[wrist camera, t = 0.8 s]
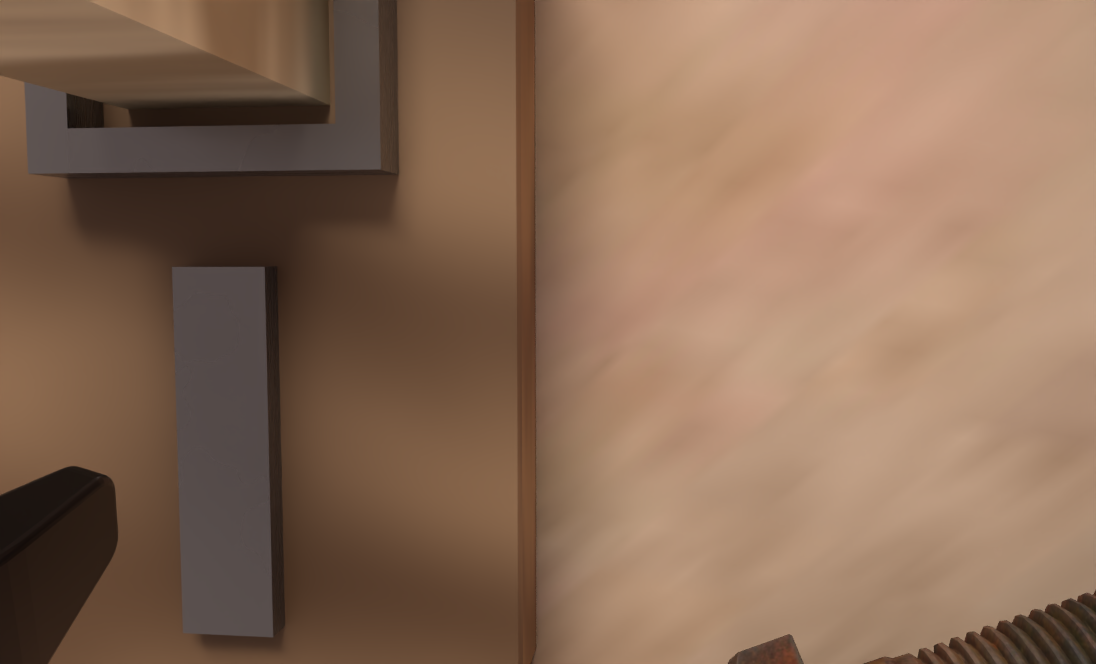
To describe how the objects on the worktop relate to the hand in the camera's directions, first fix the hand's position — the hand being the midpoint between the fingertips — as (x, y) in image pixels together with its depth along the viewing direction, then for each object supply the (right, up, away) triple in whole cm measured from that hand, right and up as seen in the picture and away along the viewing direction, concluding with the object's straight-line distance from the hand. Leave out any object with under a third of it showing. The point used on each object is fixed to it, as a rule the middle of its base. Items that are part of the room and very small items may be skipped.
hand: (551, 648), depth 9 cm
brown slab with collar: (-6, +5, +14) cm, 16 cm away
